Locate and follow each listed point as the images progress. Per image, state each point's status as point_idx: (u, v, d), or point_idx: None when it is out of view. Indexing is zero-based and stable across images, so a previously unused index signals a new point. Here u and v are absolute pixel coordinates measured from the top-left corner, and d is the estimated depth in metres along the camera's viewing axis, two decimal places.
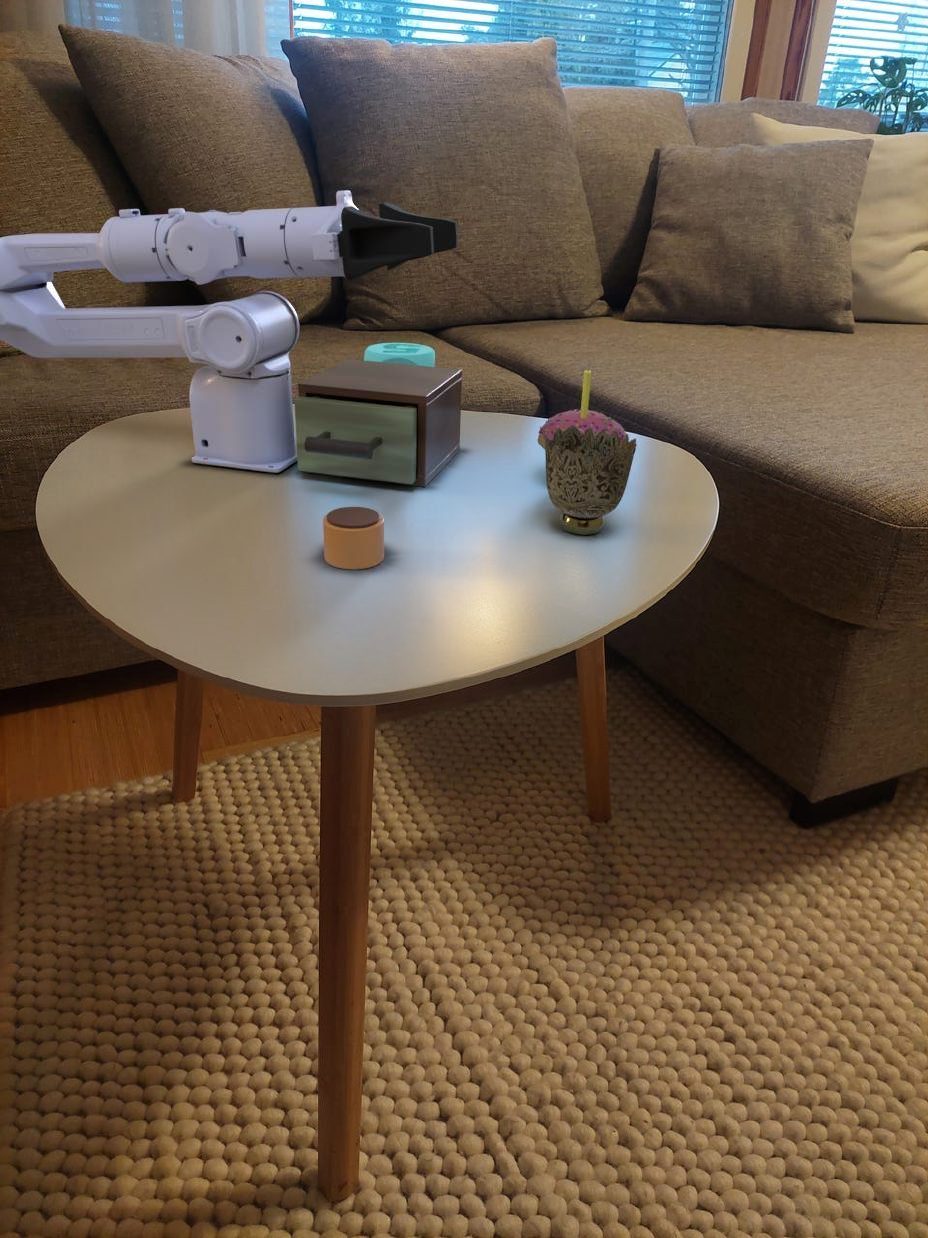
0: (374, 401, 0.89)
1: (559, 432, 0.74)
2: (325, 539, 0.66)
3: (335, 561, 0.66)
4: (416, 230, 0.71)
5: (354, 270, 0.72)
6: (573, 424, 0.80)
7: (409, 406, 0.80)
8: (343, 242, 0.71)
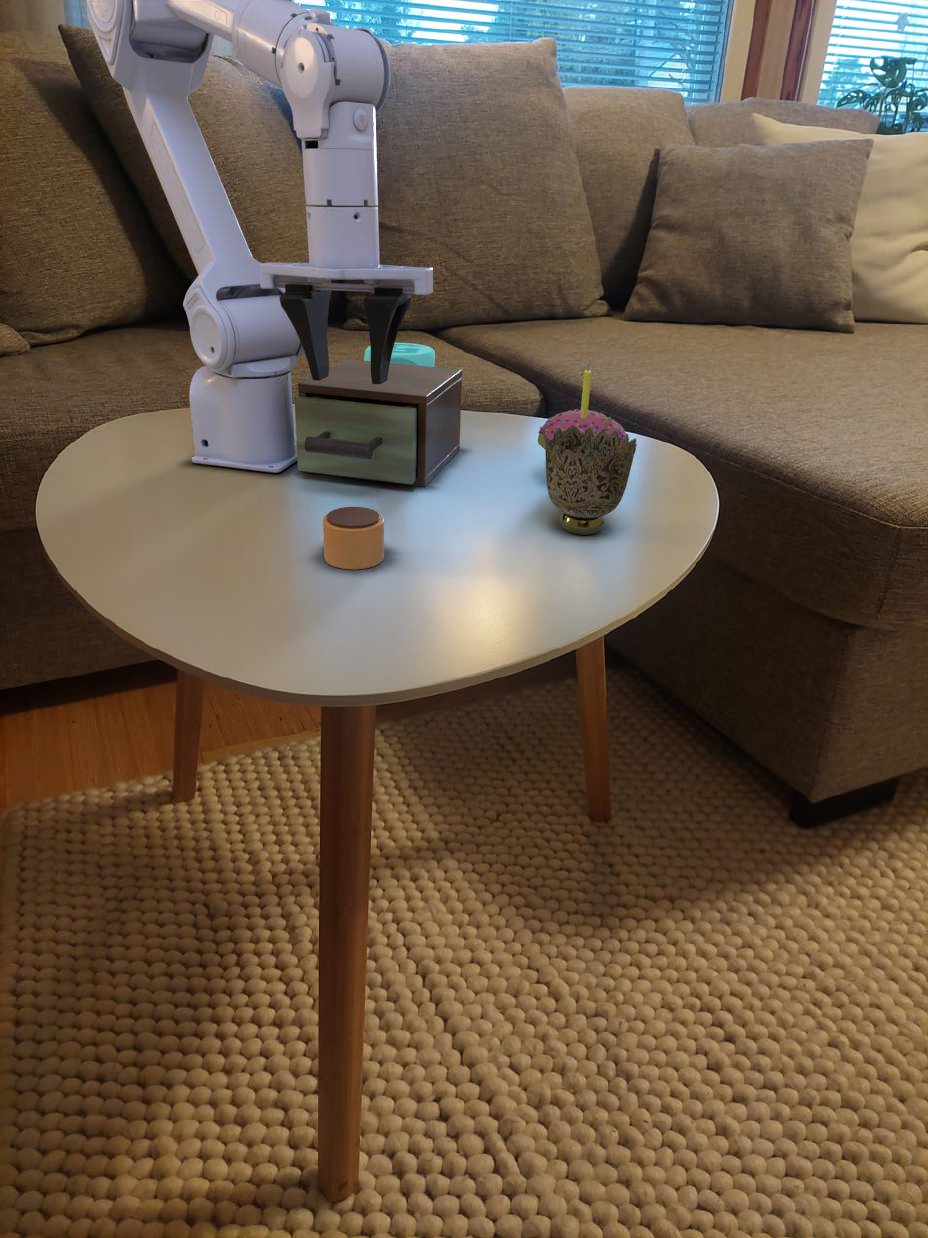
0: (374, 401, 0.89)
1: (560, 432, 0.74)
2: (325, 539, 0.66)
3: (335, 561, 0.66)
4: None
5: None
6: (573, 424, 0.80)
7: (409, 406, 0.80)
8: None
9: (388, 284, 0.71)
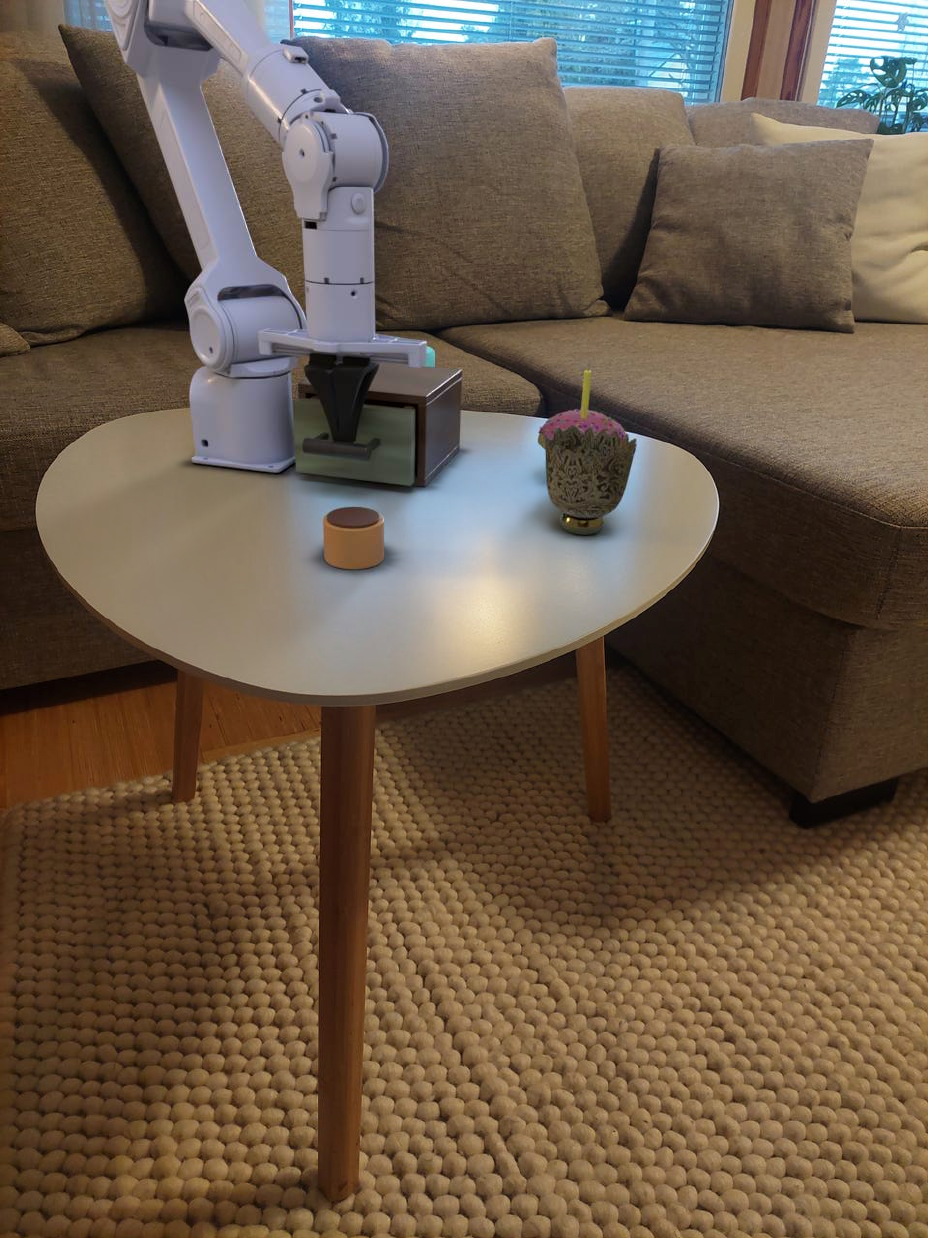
0: (372, 402, 0.89)
1: (560, 432, 0.74)
2: (325, 539, 0.66)
3: (335, 561, 0.66)
4: None
5: None
6: (573, 424, 0.80)
7: (407, 407, 0.80)
8: None
9: (383, 355, 0.74)
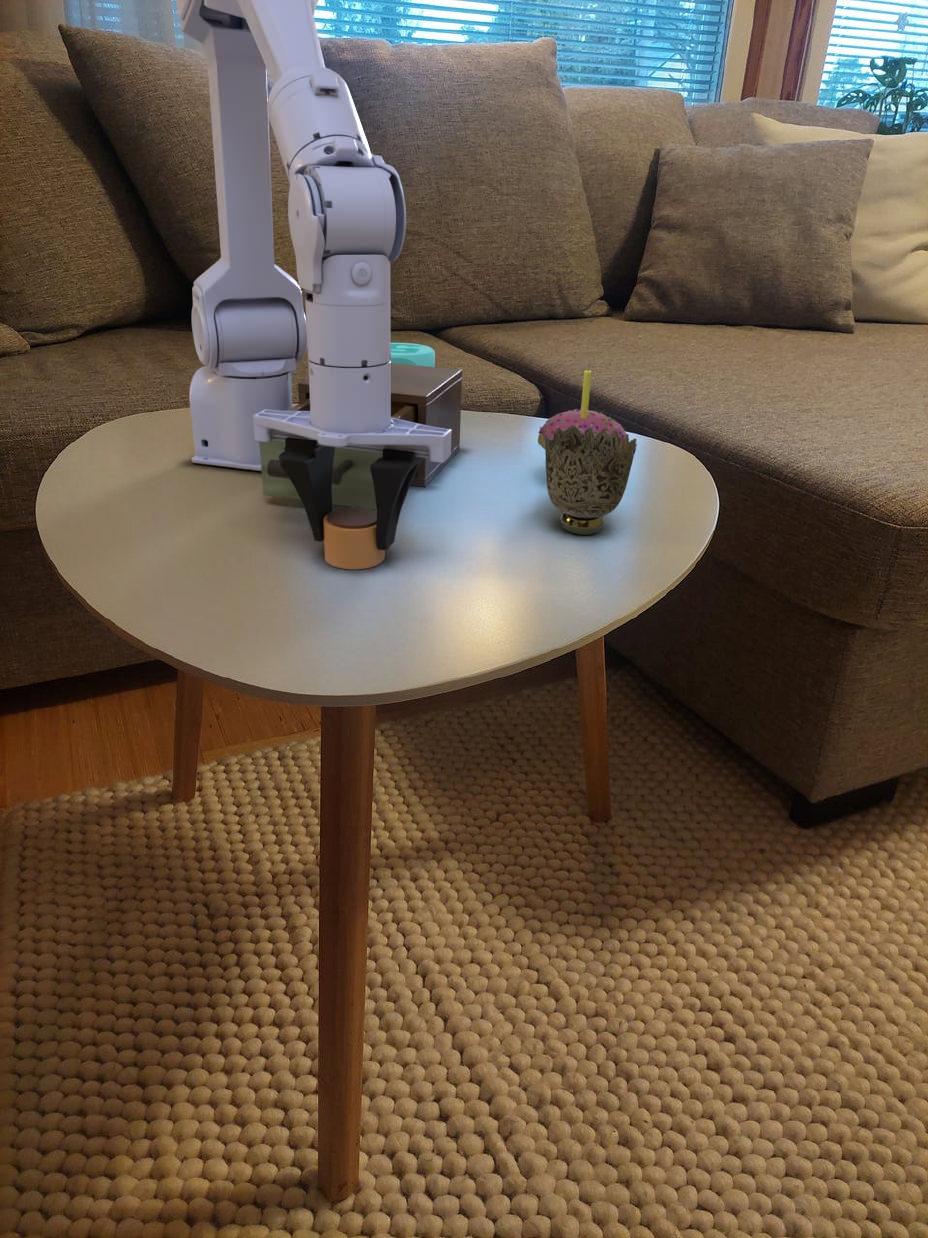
0: None
1: (560, 432, 0.74)
2: (326, 539, 0.66)
3: (335, 561, 0.66)
4: None
5: None
6: (573, 424, 0.80)
7: None
8: None
9: (400, 445, 0.62)
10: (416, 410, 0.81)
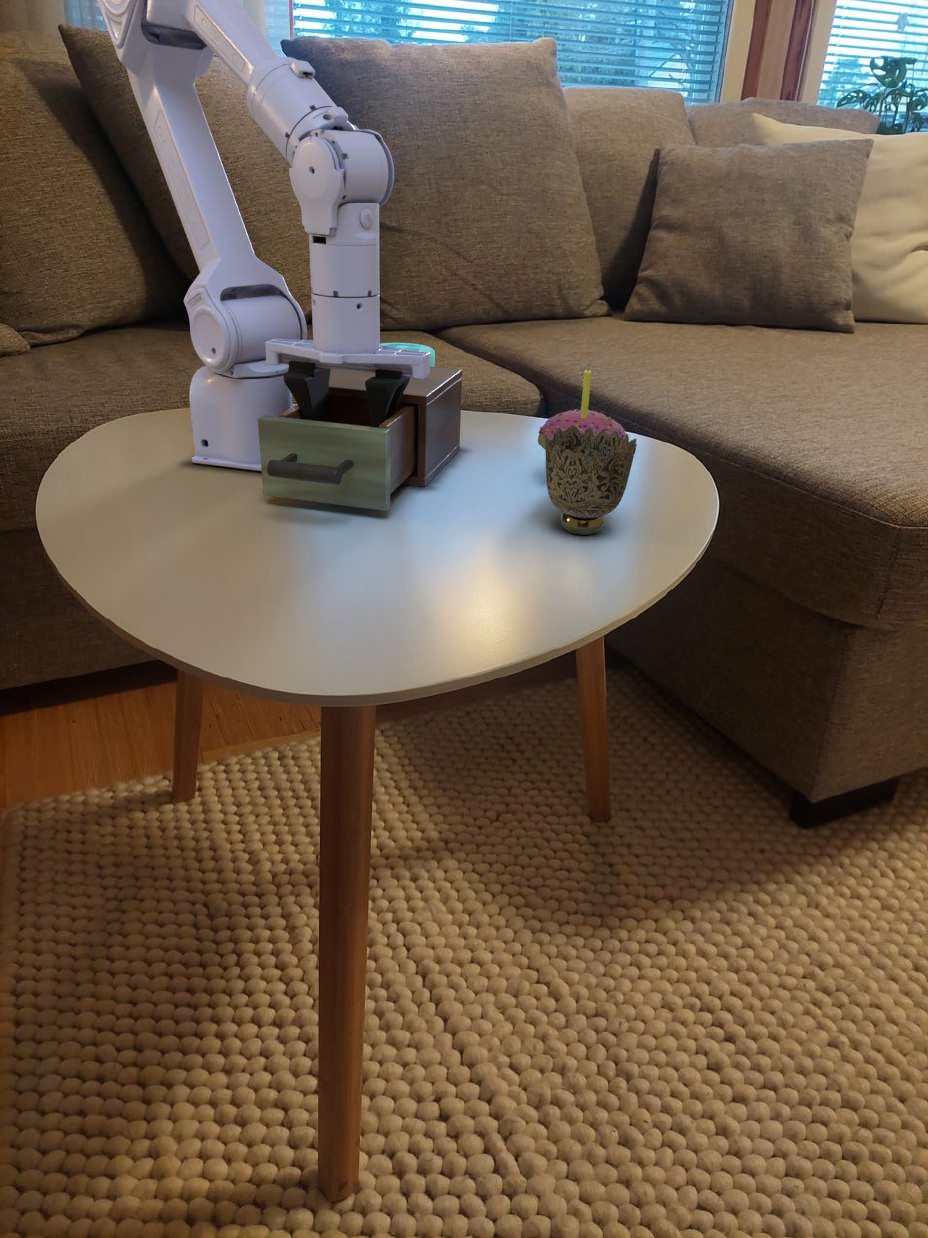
0: (348, 418, 0.83)
1: (560, 432, 0.74)
2: None
3: None
4: None
5: None
6: (573, 424, 0.80)
7: (382, 426, 0.74)
8: None
9: (387, 366, 0.75)
10: (416, 410, 0.81)
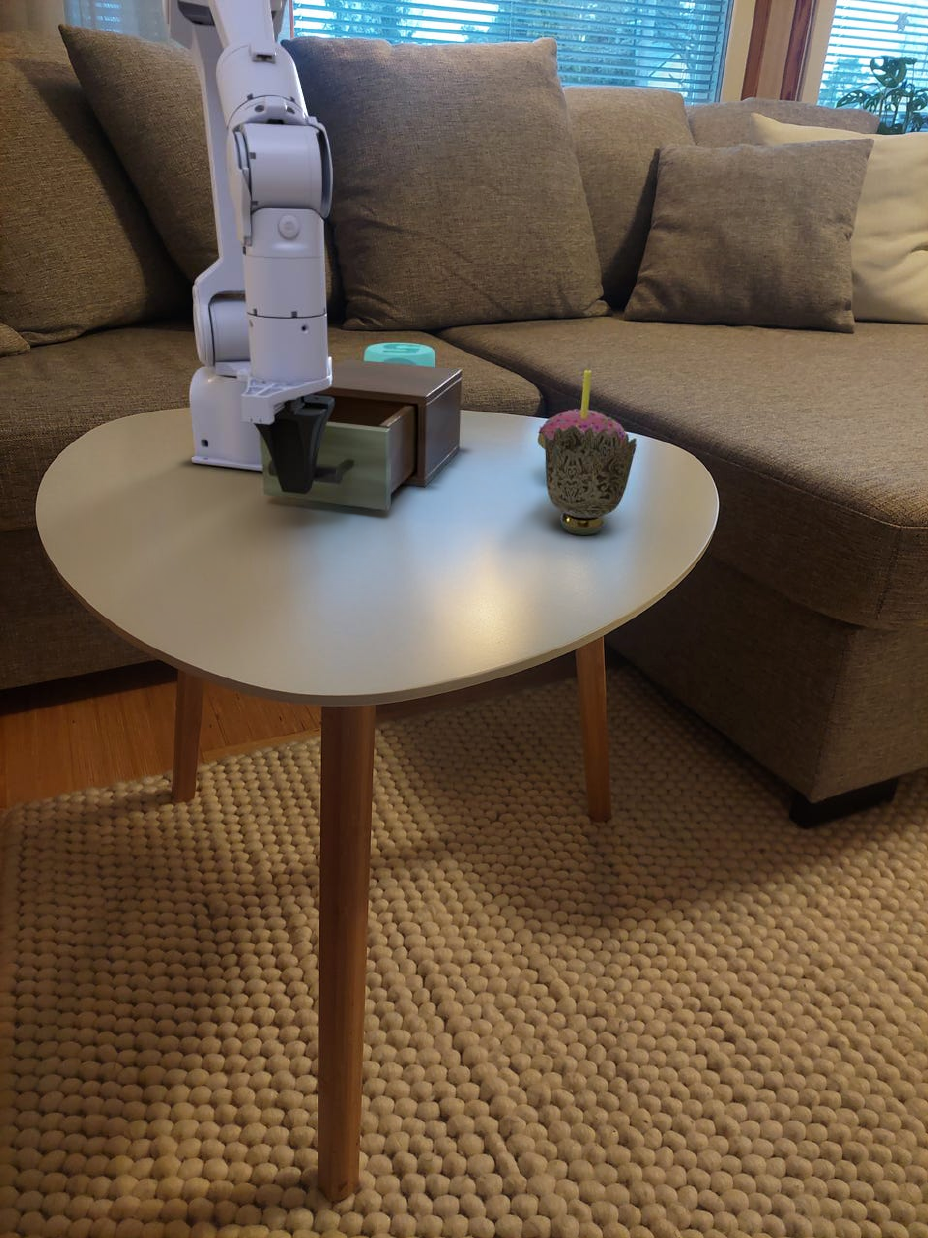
0: (348, 418, 0.83)
1: (560, 432, 0.74)
2: None
3: None
4: None
5: None
6: (573, 424, 0.80)
7: (383, 426, 0.74)
8: None
9: None
10: (417, 410, 0.81)
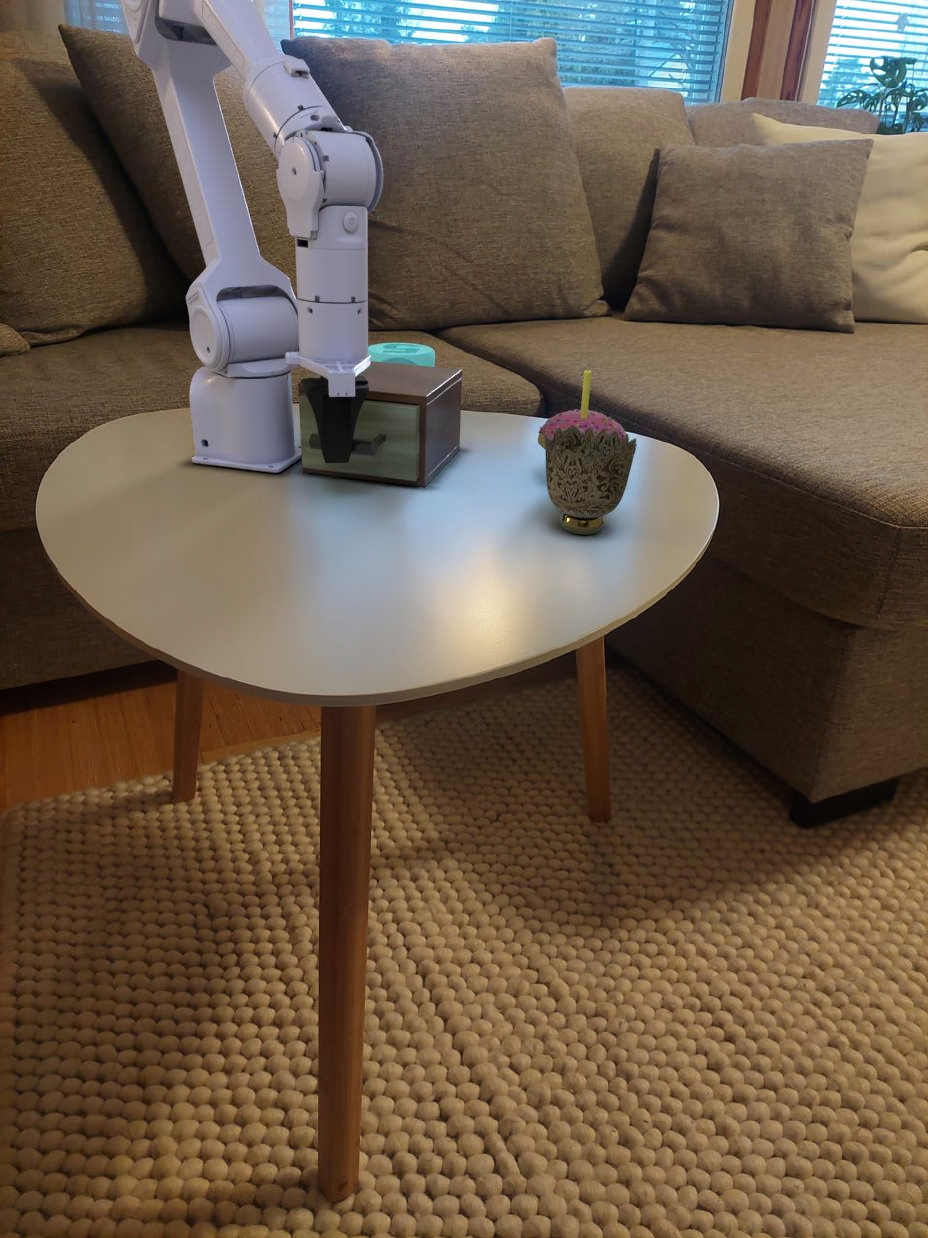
0: None
1: (559, 432, 0.74)
2: None
3: None
4: None
5: None
6: (573, 424, 0.80)
7: None
8: None
9: None
10: None
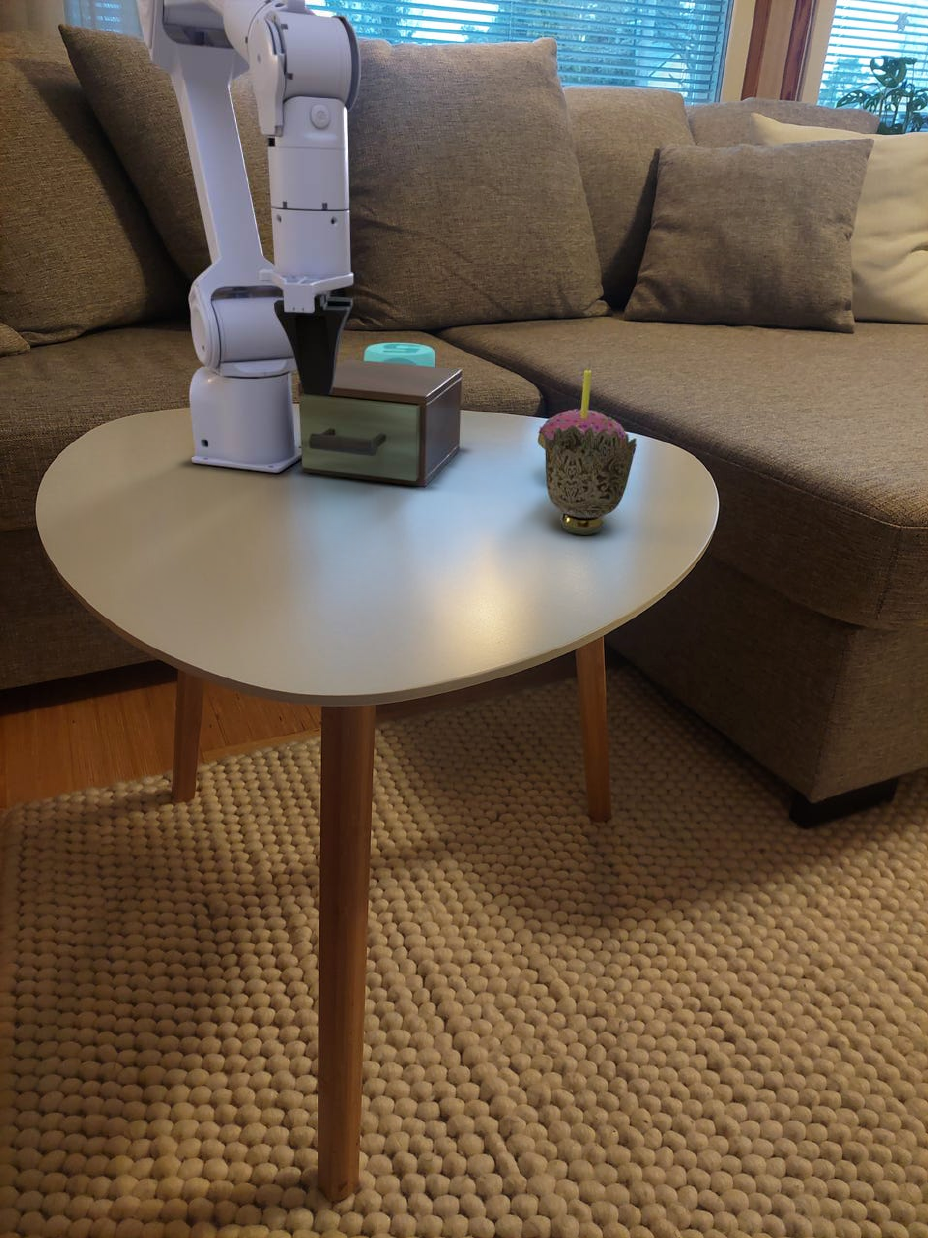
0: None
1: (559, 432, 0.74)
2: None
3: None
4: None
5: None
6: (573, 424, 0.80)
7: (412, 404, 0.81)
8: None
9: None
10: None
